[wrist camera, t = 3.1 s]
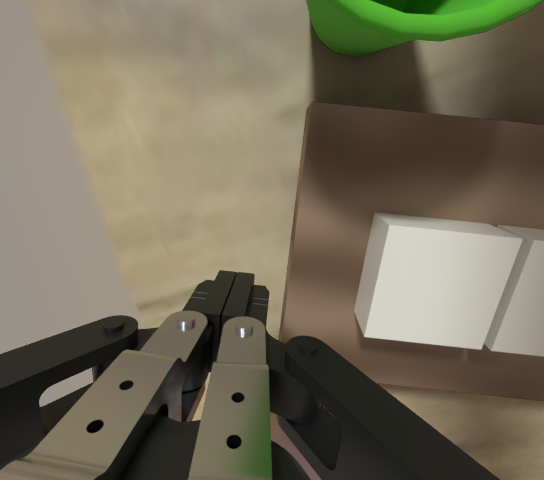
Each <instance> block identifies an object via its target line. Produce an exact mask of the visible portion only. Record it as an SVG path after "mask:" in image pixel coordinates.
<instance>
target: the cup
mask: <svg viewBox="0 0 544 480" xmlns="http://www.w3.org/2000/svg"><path fill="white" fill-rule="evenodd" d="M306 1H307V5H308V10H309V14H310V18H311V22H312V25H313V27H314V29H315V32H316V34H317V36H318V37H319V38H320V39H321V41H322V42H323V43H324V44H325V45H326V46H327V47H329V48H330V49H331V50H333V51H334V52H336V53H339V54H342V55H345V56H362V55H367V54H370V53H374V52H377V51H380V50H383V49H386V48H390V47H393V46H396V45H399V44H402V43H405V42H409V41H412V40H426V41H445V40H450V39H454V38H459V37H464V36H469V35H473V34H478V33H483V32H486V31H488V30H490V29H492V28H495V27H497V26H499V25H501V24H503V23H505V22H507V21H509V20H511V19H514V18H516V17H518V16H520V15H522V14H524V13H526V12H528V11H530V10H532V9H533V8H534V7H535V6H537V5H538V4H539V3H541V2H542V1H543V0H306Z"/></svg>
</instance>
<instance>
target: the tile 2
mask: <svg viewBox="0 0 544 480" xmlns="http://www.w3.org/2000/svg"><path fill="white" fill-rule="evenodd" d="M497 228H499V229H501V230H504V231H506V232H508V233H511V234H513V235H515V236H518V237H520V238H522V239H523V240H522V243H521V245H520V248H519V251H518V253H517V256H516V259H515V261H514V264H513V267H512V269H511V272H510V275H509V277H508V280H507V283H506V285H505V288H504V291H503V293H502V296H501V299H500V301H499V304H498V307H497V309H496V312H495V315H494V317H493V320H492V323H491V325H490V328H489V331H488V333H487V336H486V339H485V341H484V344H485V345H486V346H487V347H488V348H489V349H490V350H491V351H498V352H507V353H516V354H525V355H534V356H544V230H542V229H532V228H523V227H513V226H503V225H498V226H497Z"/></svg>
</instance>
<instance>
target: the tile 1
mask: <svg viewBox="0 0 544 480" xmlns="http://www.w3.org/2000/svg"><path fill="white" fill-rule="evenodd" d="M522 240H523V239H522V238H520V237H518V236H515V235H513V234H511V233H508V232H506V231H504V230H501V229H499V228H497V227H494V226H492V225H490V224H484V223H475V222H465V221H455V220H446V219H436V218H426V217H417V216H407V215H398V214H388V213H378V212H374V217H373V222H372V226H371V231H370V236H369V241H368V246H367V251H366V255H365V260H364V265H363V270H362V275H361V280H360V284H359V289H358V294H357V299H356V304H355V309H354V312H355V315H356V317H357V320H358V323H359V325H360V328H361V330H362V333H363V335H364V337H369V338H378V339H387V340H397V341H406V342H415V343H424V344H433V345H443V346H452V347H461V348H470V349H479V350H481V349H482V347H483V344H484V341H485V339H486V336H487V333H488V331H489V328H490V325H491V323H492V320H493V317H494V315H495V312H496V309H497V307H498V304H499V301H500V299H501V296H502V293H503V291H504V288H505V285H506V283H507V280H508V277H509V275H510V272H511V269H512V267H513V264H514V261H515V259H516V256H517V253H518V251H519V248H520V245H521V243H522Z"/></svg>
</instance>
